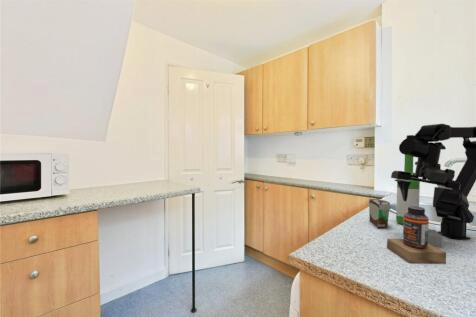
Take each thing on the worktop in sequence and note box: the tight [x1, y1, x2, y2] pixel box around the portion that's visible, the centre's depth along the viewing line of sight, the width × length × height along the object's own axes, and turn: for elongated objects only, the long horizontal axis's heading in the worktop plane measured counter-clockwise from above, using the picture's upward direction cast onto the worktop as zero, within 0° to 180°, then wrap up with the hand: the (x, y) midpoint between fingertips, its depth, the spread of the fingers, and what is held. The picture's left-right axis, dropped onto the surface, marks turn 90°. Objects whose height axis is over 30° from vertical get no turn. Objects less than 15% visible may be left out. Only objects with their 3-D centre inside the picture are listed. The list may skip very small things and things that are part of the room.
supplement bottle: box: [402, 206, 430, 248], centre depth 70 cm, size 6×6×11 cm
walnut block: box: [386, 238, 447, 264], centre depth 70 cm, size 10×10×3 cm
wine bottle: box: [395, 155, 421, 226], centre depth 99 cm, size 8×8×30 cm
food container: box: [368, 198, 392, 230], centre depth 98 cm, size 12×6×10 cm, turn 168°
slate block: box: [428, 228, 443, 249], centre depth 80 cm, size 7×7×4 cm
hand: (419, 204), depth 82 cm, fingers open, 9 cm apart
